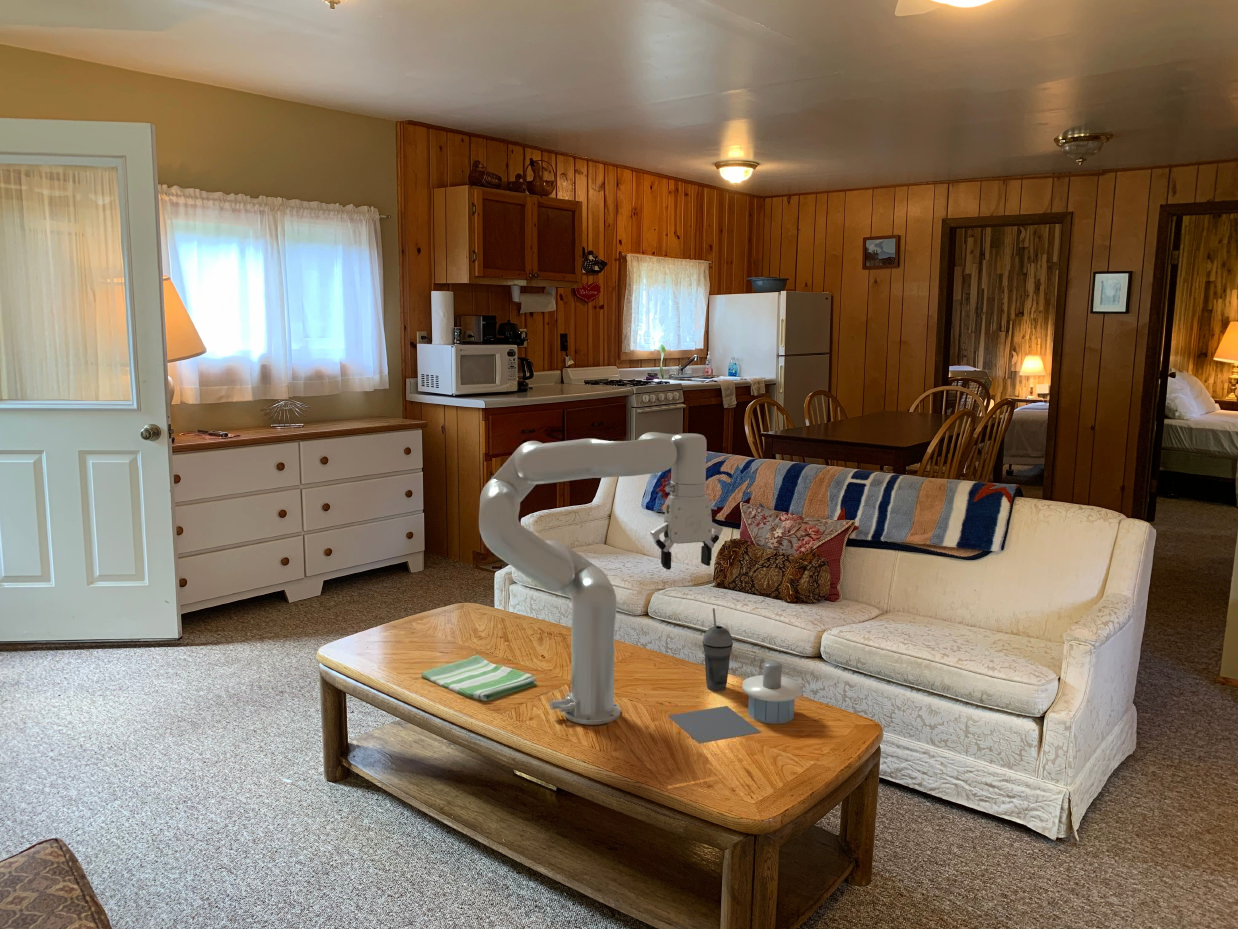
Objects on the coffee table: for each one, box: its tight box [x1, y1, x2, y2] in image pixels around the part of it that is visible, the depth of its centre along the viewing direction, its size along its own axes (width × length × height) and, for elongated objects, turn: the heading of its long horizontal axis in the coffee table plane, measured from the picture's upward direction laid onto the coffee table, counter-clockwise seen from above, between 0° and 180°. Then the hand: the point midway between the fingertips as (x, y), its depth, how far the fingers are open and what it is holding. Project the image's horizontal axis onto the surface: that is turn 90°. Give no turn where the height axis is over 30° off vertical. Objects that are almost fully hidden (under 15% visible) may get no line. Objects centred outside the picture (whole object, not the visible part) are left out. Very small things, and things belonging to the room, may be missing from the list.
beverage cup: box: [702, 607, 734, 692], centre depth 221 cm, size 7×7×20 cm
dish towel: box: [420, 654, 538, 702], centre depth 226 cm, size 18×23×3 cm
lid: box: [741, 660, 802, 702], centre depth 206 cm, size 13×13×6 cm
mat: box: [667, 705, 762, 744], centre depth 202 cm, size 15×15×1 cm
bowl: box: [747, 695, 796, 725], centre depth 207 cm, size 10×10×6 cm
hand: (686, 566), depth 206 cm, fingers open, 9 cm apart
